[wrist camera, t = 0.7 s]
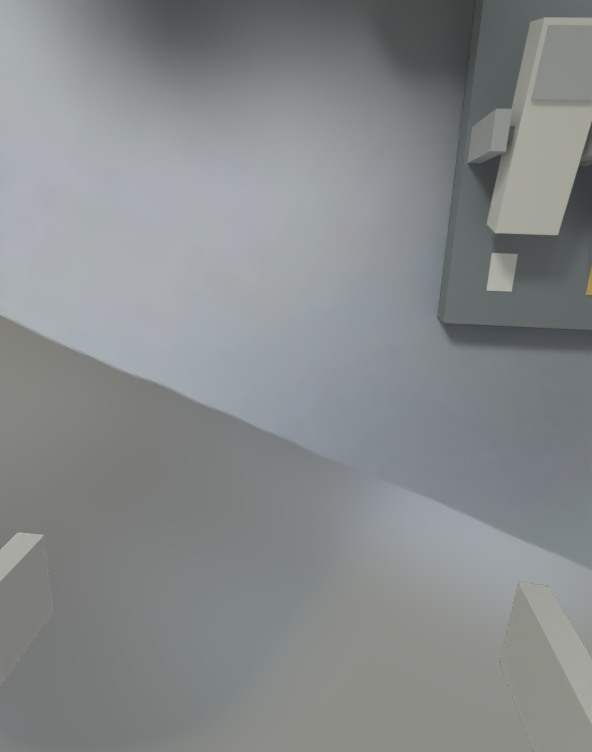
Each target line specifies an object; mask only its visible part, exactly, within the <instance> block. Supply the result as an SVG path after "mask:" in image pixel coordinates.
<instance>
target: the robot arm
mask: <svg viewBox="0 0 592 752" xmlns="http://www.w3.org/2000/svg"><path fill="white" fill-rule="evenodd" d="M52 615H53V605H52V596H51V589H50V579H49V571H48V563H47V554H46V546H45V537H44V535H38V534H28V533H17V534H16V535H15V536H14V537H13V538H12V539H11V540H10V541H9V542H8V543H7V544H6V545H5V546H4V547H3V548H2V549H1V550H0V686H1V685H2V683H3V682H4V681H5V679H6V678H7V677H8V675H9V674H10V672H11V671H12V670H13V668H14V667H15V665H16V664H17V663H18V661H19V660H20V659H21V657H22V656H23V654H24V653H25V652H26V650H27V649H28V648H29V646H30V645H31V644H32V642H33V641H34V639H35V638H36V637H37V635H38V634H39V633H40V631H41V630H42V629H43V627H44V626H45V624H46V623H47V622H48V620H49V619H50V618H51V616H52ZM500 665H501V667H502V670H503V672H504V675H505V678H506V681H507V683H508V686H509V689H510V691H511V694H512V697H513V699H514V702H515V704H516V707H517V710H518V712H519V715H520V717H521V720H522V723H523V726H524V728H525V731H526V734H527V736H528V739H529V742H530V744H531V747H532V750H533V752H592V659H591V657H590V656H589V654H588V652H587V650H586V649H585V647H584V645H583V644H582V642H581V640H580V639H579V637H578V635H577V634H576V632H575V630H574V629H573V627H572V625H571V624H570V622H569V621H568V618H567V617H566V615H565V613H564V612H563V610H562V608H561V607H560V605H559V603H558V602H557V600H556V598H555V597H554V595H553V593H552V591H551V590H550V588H549V586H548V585H540V584H530V583H520V582H519V583H518V587H517V591H516V595H515V599H514V603H513V608H512V612H511V616H510V620H509V624H508V629H507V633H506V637H505V641H504V646H503V650H502V654H501V658H500Z"/></svg>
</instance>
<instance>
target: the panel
mask: <svg viewBox="0 0 592 752" xmlns="http://www.w3.org/2000/svg"><path fill="white" fill-rule="evenodd" d="M544 17H565V18H592V0H476V1H475V9H474V18H473V26H472V34H471V43H470V51H469V59H468V68H467V76H466V85H465V93H464V101H463V110H462V118H461V126H460V135H459V143H458V151H457V160H456V168H455V176H454V185H453V193H452V201H451V210H450V218H449V227H448V235H447V243H446V252H445V260H444V268H443V277H442V285H441V293H440V302H439V310H438V319H439V320H440V321H442V322H443V323H451V324H473V325H494V326H516V327H537V328H559V329H580V330H592V122H591V126H590V129H589V132H588V136H587V139H586V142H585V146H584V149H583V153H582V156H581V159H580V163H579V166H578V169H577V173H576V176H575V179H574V183H573V186H572V189H571V193H570V196H569V200H568V203H567V206H566V210H565V213H564V216H563V220H562V223H561V226H560V230H559V233H558V235H536V234H507V233H495V232H494V231H493V230H492V229H491V228H490V227H489V226H488V225H487V219H488V215H489V210H490V206H491V201H492V196H493V192H494V187H495V183H496V178H497V173H498V169H499V164H500V160H501V155H502V153H504V152H506V148H507V141H508V134H509V128H510V121H511V114H512V104H513V100H514V95H515V90H516V86H517V81H518V77H519V72H520V67H521V63H522V58H523V54H524V49H525V44H526V40H527V35H528V31H529V26H530V22H531V21H534V20H538V19H541V18H544Z"/></svg>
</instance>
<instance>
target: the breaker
mask: <svg viewBox="0 0 592 752" xmlns="http://www.w3.org/2000/svg"><path fill="white" fill-rule="evenodd" d="M591 122H592V18H565V17H544V18H541V19H538V20H534V21H531V22H530V26H529V31H528V35H527V40H526V44H525V49H524V54H523V58H522V63H521V67H520V72H519V77H518V81H517V86H516V90H515V95H514V100H513V104H512V114H511V121H510V128H509V134H508V141H507V148H506V152H504V153H502V155H501V160H500V164H499V169H498V173H497V178H496V183H495V187H494V192H493V196H492V201H491V206H490V210H489V215H488V219H487V225H488V226H489V227H490V228H491V229H492V230H493V231H494V232H495V233H507V234H536V235H558V233H559V230H560V226H561V223H562V220H563V216H564V213H565V210H566V206H567V203H568V200H569V196H570V193H571V189H572V186H573V183H574V179H575V176H576V173H577V169H578V166H579V163H580V159H581V156H582V153H583V149H584V146H585V142H586V139H587V136H588V132H589V129H590V126H591Z"/></svg>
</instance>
